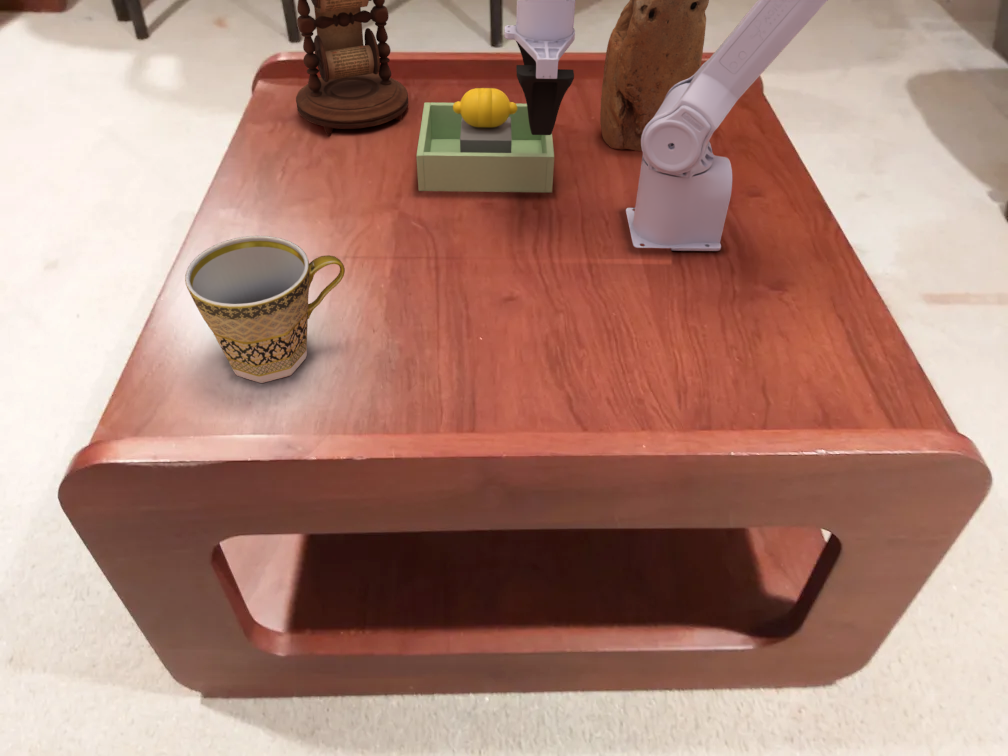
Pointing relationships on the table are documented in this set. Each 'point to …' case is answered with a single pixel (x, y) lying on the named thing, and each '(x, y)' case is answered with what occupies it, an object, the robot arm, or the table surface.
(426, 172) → the crate
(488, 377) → the table surface
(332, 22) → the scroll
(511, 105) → the lemon
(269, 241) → the ceramic cup
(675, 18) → the brown upright lump
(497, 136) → the grey block
